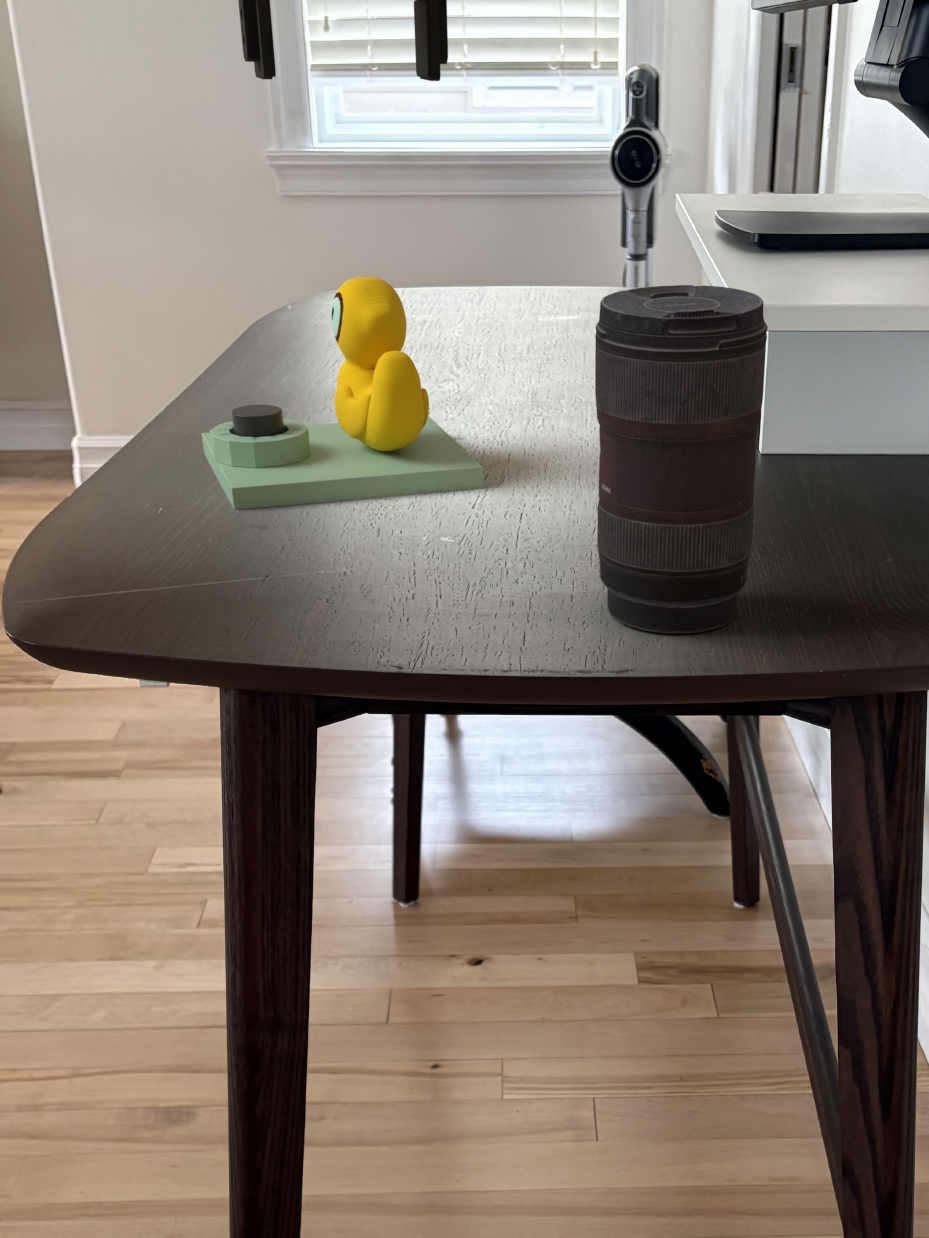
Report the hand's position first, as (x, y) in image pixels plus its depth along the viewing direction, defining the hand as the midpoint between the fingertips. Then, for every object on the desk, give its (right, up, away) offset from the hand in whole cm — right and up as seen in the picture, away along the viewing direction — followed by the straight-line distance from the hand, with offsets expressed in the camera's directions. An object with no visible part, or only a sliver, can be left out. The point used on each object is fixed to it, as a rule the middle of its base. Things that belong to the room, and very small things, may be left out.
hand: (348, 79), depth 88 cm
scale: (-3, -18, +12) cm, 22 cm away
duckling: (0, -17, +12) cm, 21 cm away
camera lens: (+18, -34, -9) cm, 40 cm away
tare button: (-7, -17, +10) cm, 21 cm away
